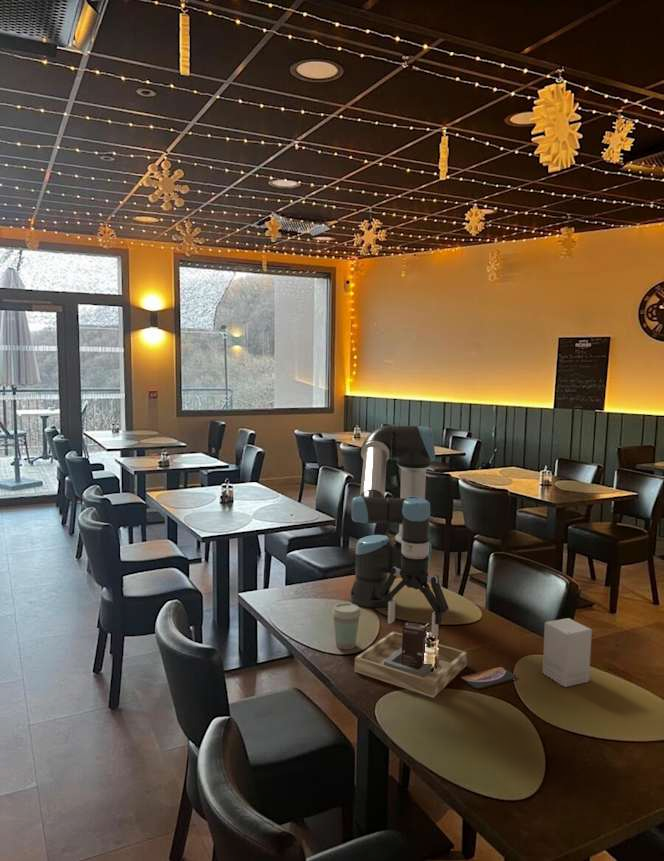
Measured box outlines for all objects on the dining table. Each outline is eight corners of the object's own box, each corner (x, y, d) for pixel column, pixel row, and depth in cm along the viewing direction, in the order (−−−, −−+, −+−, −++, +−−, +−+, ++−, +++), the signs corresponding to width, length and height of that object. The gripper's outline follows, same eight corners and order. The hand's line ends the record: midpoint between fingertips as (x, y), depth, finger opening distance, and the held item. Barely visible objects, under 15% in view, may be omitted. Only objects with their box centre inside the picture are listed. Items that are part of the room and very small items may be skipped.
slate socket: (402, 653, 188) (402, 647, 188) (438, 664, 181) (438, 657, 181) (383, 668, 178) (383, 661, 178) (420, 680, 172) (420, 673, 172)
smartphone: (458, 676, 175) (500, 665, 182) (458, 679, 175) (500, 668, 182) (476, 688, 168) (519, 676, 175) (476, 691, 168) (519, 679, 175)
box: (400, 668, 178) (402, 627, 177) (404, 661, 183) (405, 621, 181) (422, 672, 176) (423, 630, 175) (425, 665, 181) (426, 624, 179)
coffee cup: (360, 640, 198) (361, 602, 197) (358, 652, 189) (359, 613, 188) (333, 638, 199) (333, 601, 197) (330, 650, 190) (330, 612, 189)
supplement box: (590, 682, 174) (593, 629, 172) (564, 688, 170) (567, 634, 169) (566, 667, 182) (569, 617, 181) (541, 672, 179) (543, 621, 177)
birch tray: (392, 643, 196) (392, 631, 195) (466, 665, 182) (467, 652, 182) (354, 671, 178) (354, 657, 177) (433, 697, 164) (434, 683, 164)
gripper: (369, 549, 180) (367, 621, 183) (451, 567, 167) (448, 645, 169) (382, 543, 187) (380, 613, 189) (462, 560, 173) (459, 634, 175)
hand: (412, 628), depth 179 cm, fingers open, 13 cm apart
